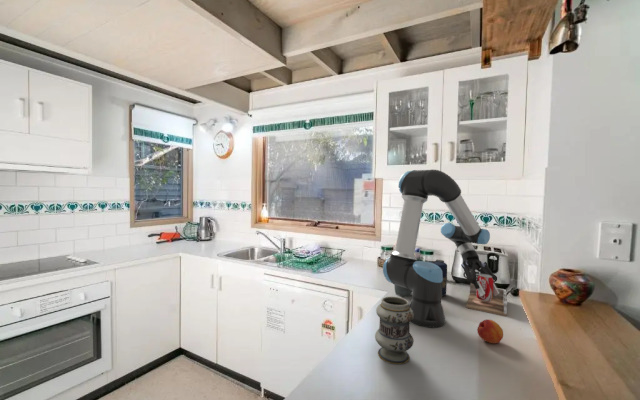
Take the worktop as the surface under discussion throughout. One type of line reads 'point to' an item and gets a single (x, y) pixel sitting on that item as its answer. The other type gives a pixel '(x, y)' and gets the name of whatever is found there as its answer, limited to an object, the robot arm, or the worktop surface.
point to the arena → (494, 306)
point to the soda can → (485, 287)
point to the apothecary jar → (394, 329)
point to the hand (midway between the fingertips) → (490, 294)
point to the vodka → (402, 291)
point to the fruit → (490, 331)
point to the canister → (444, 273)
